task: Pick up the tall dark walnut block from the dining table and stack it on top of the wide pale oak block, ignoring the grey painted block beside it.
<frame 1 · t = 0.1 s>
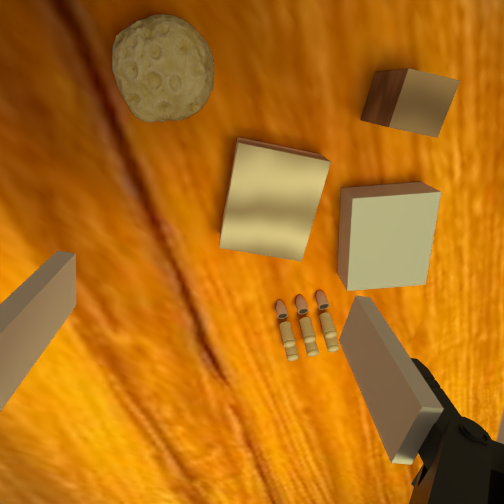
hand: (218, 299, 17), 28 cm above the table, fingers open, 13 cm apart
ammunition: (302, 315, 52), on the table
walnut block: (388, 101, 40), on the table
grey painted block: (375, 229, 46), on the table
pale oak block: (268, 194, 44), on the table
coral: (171, 73, 38), on the table
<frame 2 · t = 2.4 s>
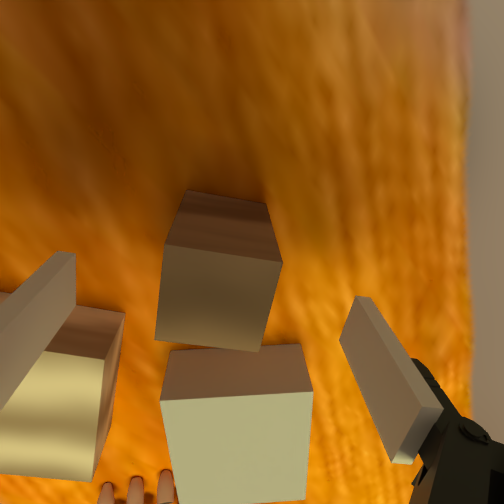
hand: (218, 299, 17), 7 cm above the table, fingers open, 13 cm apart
ammunition: (150, 495, 35), on the table
walnut block: (220, 233, 23), on the table
grey painted block: (238, 399, 30), on the table
pale oak block: (51, 362, 27), on the table
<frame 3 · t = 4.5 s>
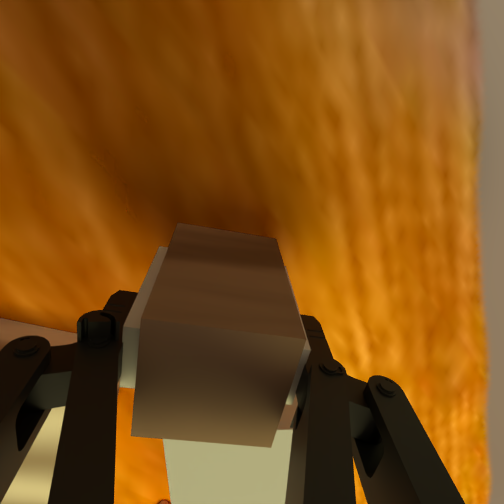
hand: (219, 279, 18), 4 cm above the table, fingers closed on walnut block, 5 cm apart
walnut block: (220, 273, 19), point 3 cm above the table, touching gripper
grey painted block: (242, 430, 29), on the table
pale oak block: (48, 391, 26), on the table
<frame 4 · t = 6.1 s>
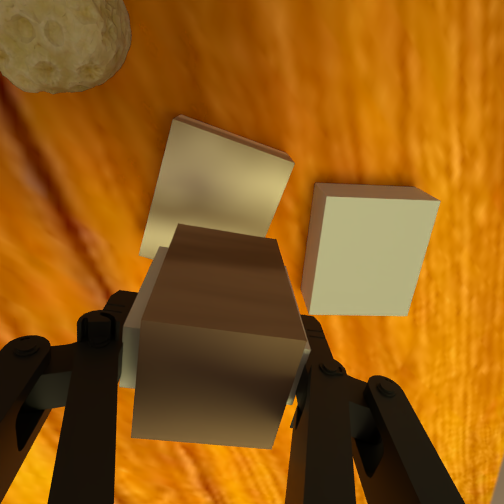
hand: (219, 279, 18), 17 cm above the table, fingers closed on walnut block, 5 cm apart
walnut block: (220, 274, 19), point 17 cm above the table, touching gripper
grey painted block: (353, 240, 37), on the table
pale oak block: (215, 194, 34), on the table
coral: (76, 31, 28), on the table
when the fingers open (6 cm above the table, at t = 7.9 s): walnut block stays where it is, resting on pale oak block.
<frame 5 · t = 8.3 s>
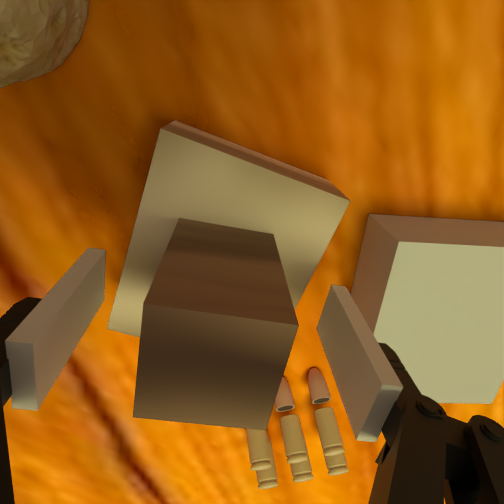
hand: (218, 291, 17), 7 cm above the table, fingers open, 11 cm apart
ammunition: (287, 404, 31), on the table
walnut block: (219, 267, 19), point 5 cm above the table, touching pale oak block
grey painted block: (414, 291, 27), on the table
pale oak block: (222, 234, 24), on the table, touching walnut block
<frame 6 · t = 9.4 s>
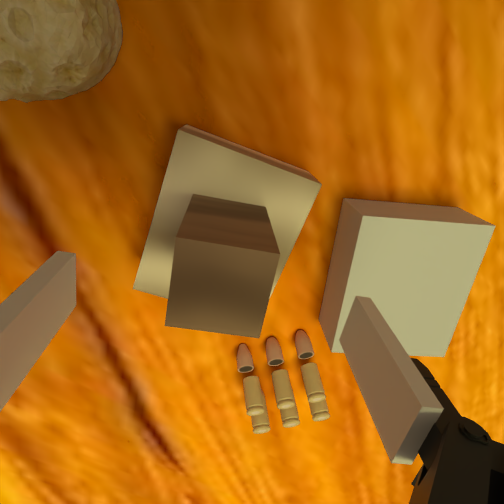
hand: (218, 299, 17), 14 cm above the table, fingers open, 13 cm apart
ammunition: (278, 364, 36), on the table
walnut block: (223, 234, 25), point 5 cm above the table, touching pale oak block
grey painted block: (382, 265, 32), on the table
pale oak block: (224, 217, 30), on the table, touching walnut block
coral: (57, 29, 24), on the table
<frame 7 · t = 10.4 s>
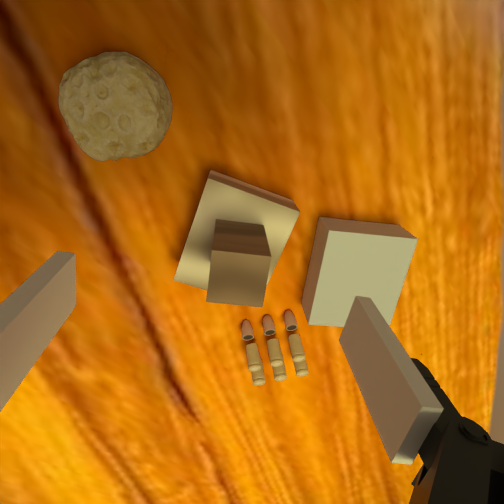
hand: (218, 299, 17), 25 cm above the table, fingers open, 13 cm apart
ammunition: (271, 336, 49), on the table
walnut block: (236, 244, 38), point 5 cm above the table, touching pale oak block
grey painted block: (347, 264, 45), on the table
pale oak block: (234, 231, 42), on the table, touching walnut block
coral: (129, 108, 36), on the table
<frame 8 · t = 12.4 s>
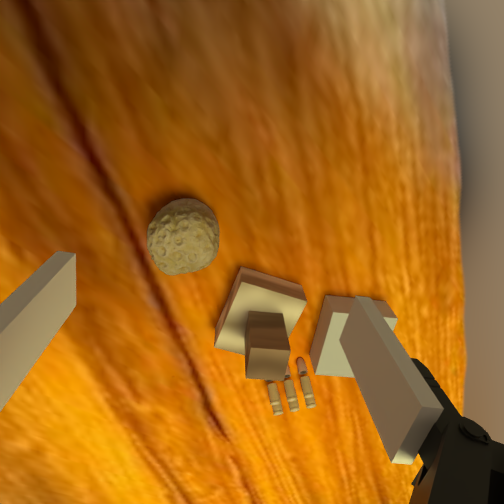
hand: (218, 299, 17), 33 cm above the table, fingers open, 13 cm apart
ammunition: (287, 376, 63), on the table
walnut block: (263, 326, 52), point 5 cm above the table, touching pale oak block
grey painted block: (345, 327, 59), on the table
pale oak block: (257, 305, 56), on the table, touching walnut block
coral: (187, 228, 50), on the table
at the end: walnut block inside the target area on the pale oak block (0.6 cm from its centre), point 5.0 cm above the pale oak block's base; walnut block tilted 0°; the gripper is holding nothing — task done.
